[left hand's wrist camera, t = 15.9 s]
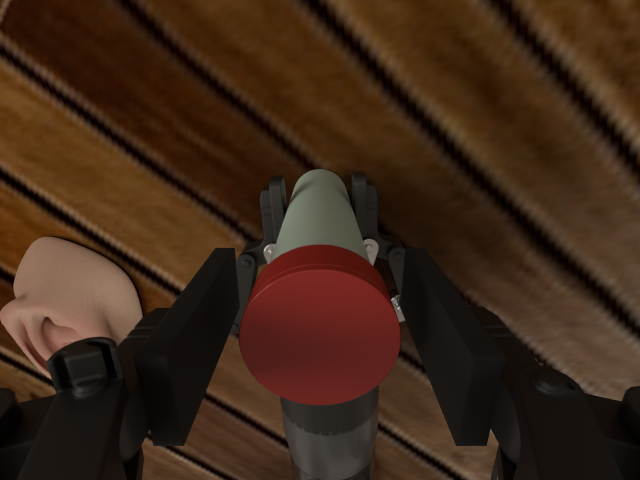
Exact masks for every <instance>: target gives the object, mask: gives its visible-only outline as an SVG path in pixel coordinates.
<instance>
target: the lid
mask: <svg viewBox="0 0 640 480" xmlns="http://www.w3.org/2000/svg"><path fill="white" fill-rule="evenodd" d="M239 345H240V351H241V354H242V357H243V360H244V362H245V364H246V366H247V368H248V369H249V371H250V372H251V374H252V375H253V376H254V377H255V378H256V379H257V381H258V382H259V383H261V384H262V385H263V386H264V387H265V388H267V389H268V390H270V391H271V392H273V393H274V394H276V395H278V396H280V397H282V398H285V399H288V400H290V401H294V402H297V403H302V404H308V405H332V404H338V403H343V402H346V401H350V400H352V399H355V398H358V397H360V396H362V395H364V394H366V393H367V392H369V391H370V390H372V389H373V388H375V387H376V386H377V385H378V384H379V383H381V382H382V381H383V379H384V378H385V377H386V376H387V375H388V374H389V372H390V371H391V369H392V368H393V366H394V364H395V362H396V360H397V357H398V354H399V351H400V345H401V329H400V323H399V320H398V317H397V314H396V311H395V308H394V306H393V303H392V300H391V298H390V295H389V293H388V290H387V287H386V285H385V283H384V281H383V278H382V277H381V275H380V274H379V272H378V271H377V270H376V269H375V267H374V266H373V265H372V264H371V263H370V262H368V261H367V260H366V259H365V258H363V257H362V256H360V255H358V254H357V253H355V252H353V251H350V250H348V249H345V248H342V247H339V246H333V245H324V244H316V245H307V246H302V247H298V248H295V249H292V250H290V251H287V252H285V253H283V254H282V255H280V256H278V257H277V258H275V259H274V260H273V261H272V262H270V263H269V264H268V265H267V266H266V267H265V269H264V270H263V271H262V272H261V274H260V275H259V277H258V278H257V281H256V283H255V285H254V287H253V290H252V293H251V295H250V298H249V300H248V303H247V306H246V308H245V311H244V314H243V317H242V320H241V323H240V329H239Z"/></svg>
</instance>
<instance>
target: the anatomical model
mask: <svg viewBox="0 0 640 480" xmlns="http://www.w3.org/2000/svg"><path fill="white" fill-rule="evenodd" d="M14 293H15V296H16V299H14V300H13V301H11V302H10V303H8V304H7V305H6V306H4V307H3V309H2V310H1V312H0V320H1V322H2V324H3V325H4V327H5V328H6V329H7V331H8V332H9V333H10V335H11V336H12V337H13V338H14V340H15V341H16V342H17V344H18V345H19V346H20V348H21V349H22V350H23V351H24V353H25V354H26V355H27V356H28V358H29V359H30V360H31V361H32V362H33V364H34V365H35V366H36V367H37V368H38V369H39V370H40V371H41V372H42V373H44V374H45V375H46V376H47V377H49V378H50V379H51V376H50V373H49V370H48V367H47V364H46V361H47V360H48V359H49V358H50V357H51V355H52V354H54V353H55V352H57V351H58V350H59V349H61V348H62V347H64V346H66V345H69V344H71V343H73V342H75V341H78V340H82V339H86V338H89V337H101V336H102V337H107V338H111V339H112V340H114V341H115V342H116V345H117V347H118V345H119V344H120V343H121V342H122V341H123V340H124V338H127V335H128V334H129V333H130V331H131V330H132V329H134V327H135V326H136V324H137V323H138V322H139V321H140V320H141V319H142V317H143V316H142V310H141V306H140V302H139V298H138V295H137V292H136V290H135V287H134V285H133V283H132V282H131V280H130V279H129V277H128V276H127V275H126V273H125V272H124V271H122V270H121V269H120V268H119V267H118V266H117V265H115V264H114V263H113V262H111V261H110V260H108V259H106V258H105V257H103V256H101V255H99V254H97V253H96V252H94V251H91V250H89V249H87V248H85V247H82V246H80V245H77V244H75V243H72V242H69V241H66V240H63V239H60V238H55V237H42V238H39V239H37V240H36V241H35V242H33V243H32V245H31V246H30V247H29V249H28V250H27V252H26V254H25V255H24V257H23V259H22V261H21V263H20V265H19V267H18V270H17V274H16V277H15V281H14Z"/></svg>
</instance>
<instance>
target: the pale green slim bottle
mask: <svg viewBox="0 0 640 480" xmlns="http://www.w3.org/2000/svg"><path fill="white" fill-rule="evenodd" d="M316 244H324V245H333V246H339V247H342V248H345V249H348V250H350V251H353V252H355V253H357V254H358V255H360V256H362V257H363V258H365V259H366V260H367V261H368V262H370V261H369V258H368V254H367V251H366V248H365V245H364V242H363V239H362V236H361V233H360V230H359V227H358V224H357V221H356V218H355V215H354V212H353V209H352V206H351V203H350V200H349V197H348V194H347V191H346V188H345V185H344V183H343V181H342V180H341V179H340V178H339V177H338V176H337V175H336V174H335V173H333V172H331V171H328V170H324V169H316V170H312V171H309V172H307V173H305V174H304V175H303V176H302V177H301V178H300V179H299V180H298V181H297V183H296V185H295V188H294V191H293V194H292V197H291V200H290V203H289V206H288V209H287V212H286V215H285V218H284V221H283V224H282V227H281V230H280V233H279V236H278V239H277V242H276V245H275V248H274V251H273V255H272V258H271V261H270V262H272V261H273V260H274V259H275V258H277V257H278V256H280V255H282V254H283V253H285V252H287V251H290V250H292V249H295V248H298V247H302V246H307V245H316Z"/></svg>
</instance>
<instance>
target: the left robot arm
mask: <svg viewBox="0 0 640 480" xmlns="http://www.w3.org/2000/svg"><path fill="white" fill-rule="evenodd" d="M239 309H240V301H239V290H238V279H237V268H236V258H235V248H215V250H214V251H213V252H212V254H211V255H210V256H209V258H208V259H207V260H206V261H205V263H204V264H203V265H202V267H201V268H200V269H199V271H198V272H197V273H196V275H195V276H194V277H193V279H192V280H191V281H190V283H189V284H188V285H187V287H186V288H185V289H184V291H183V292H182V293H181V294H180V296H179V297H178V298H177V300H176V301H175V302H174V304H173V305H172V306H171V308H156V309H155V310H153V311H151V312H150V313H148V314H147V315H145V316H144V317H142V319H141V320H140V321H139V322H138V323H137V324H136V326H135V327H134V329H132V330H131V331H130V333H129V334H128V335H127V338H124V340H123V341H122V342H121V343H120V344H119V345H118V347H117V345H116V342H115V341H114V340H112V339H111V338H107V337H102V336H101V337H89V338H86V339H82V340H78V341H75V342H73V343H71V344H69V345H66V346H64V347H62V348H61V349H59V350H58V351H57V352H55V353H54V354H52V355H51V357H50V358H49V359H48V360H47V361H46V364H47V367H48V370H49V373H50V376H51V379H52V382H53V385H54V388H55V390H56V394H55V395H53V396H49V397H44V398H40V399H35V400H31V401H26V402H22V403H19V402H18V399H17V397H16V394H15V392H13V391H12V390H11V389H9V388H0V480H142V471H143V463H144V456H143V450H142V446H141V445H142V443H143V441H144V439H145V437H146V435H147V433H148V432H149V430H150V432H151V437H152V441H153V445H154V446H184V444H185V441H186V439H187V437H188V434H189V432H190V429H191V427H192V424H193V422H194V419H195V417H196V414H197V412H198V409H199V407H200V405H201V402H202V400H203V397H204V395H205V392H206V390H207V387H208V385H209V382H210V380H211V377H212V375H213V373H214V370H215V368H216V365H217V363H218V360H219V358H220V355H221V353H222V350H223V348H224V345H225V343H226V341H227V338H228V336H229V333H230V331H231V328H232V326H233V323H234V321H235V318H236V316H237V313H238V311H239ZM400 309H401V311H402V313H403V316H404V318H405V321H406V323H407V326H408V328H409V331H410V333H411V336H412V338H413V341H414V343H415V345H416V348H417V350H418V353H419V355H420V358H421V360H422V363H423V365H424V368H425V370H426V373H427V375H428V377H429V380H430V382H431V385H432V387H433V390H434V392H435V395H436V397H437V400H438V402H439V405H440V407H441V409H442V412H443V414H444V417H445V419H446V422H447V424H448V427H449V429H450V432H451V434H452V437H453V439H454V441H455V444H456V446H486V445H487V441H488V437H489V432H490V428H491V430H492V432H493V434H494V435H495V437H496V439H497V441H498V443H499V446H498V450H497V454H496V458H495V462H494V466H493V471H492V476H491V480H497V476H498V479H499V480H640V386H636V387H631V388H629V389H628V390H626V392H625V394H624V397H623V399H622V402H621V401H617V400H612V399H608V398H603V397H599V396H594V395H589V394H586V393H584V392H583V390H582V389H581V388H580V386H579V385H578V384H577V383H576V382H575V381H574V380H572V379H571V378H570V377H568V376H567V375H565V374H563V373H561V372H559V371H557V370H555V369H552V368H549V367H545V366H541V365H539V364H538V362H537V361H536V360H535V359H534V358H533V357H532V355H531V354H530V353H529V352H528V351H527V350H526V348H525V347H524V346H523V345H522V344H521V343H520V341H519V340H518V339H517V338H516V337H514V335H513V333H512V332H511V331H510V330H509V329H508V328H506V325H505V324H504V323H503V322H502V321H501V319H500V318H499V317H498V316H497V315H495V314H494V313H492V312H491V311H489V310H487V309H486V308H484V307H469V306H468V305H467V304H466V302H465V301H464V300H463V298H462V297H461V296H460V294H459V293H458V292H457V291H456V289H455V288H454V287H453V285H452V284H451V283H450V281H449V280H448V279H447V277H446V276H445V275H444V273H443V272H442V271H441V269H440V268H439V267H438V265H437V264H436V263H435V261H434V260H433V259H432V258H431V256H430V255H429V254H428V252H427V251H426V250H425V248H405V258H404V268H403V279H402V290H401V301H400Z"/></svg>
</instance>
